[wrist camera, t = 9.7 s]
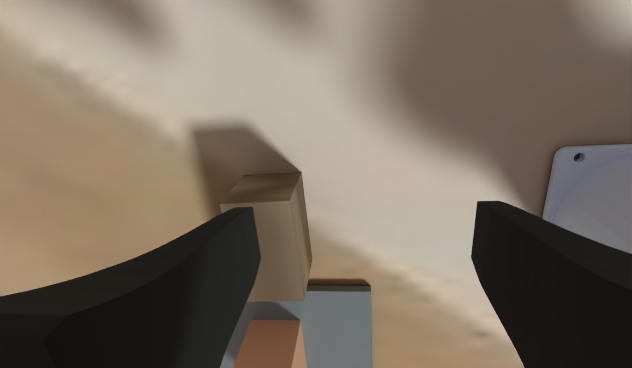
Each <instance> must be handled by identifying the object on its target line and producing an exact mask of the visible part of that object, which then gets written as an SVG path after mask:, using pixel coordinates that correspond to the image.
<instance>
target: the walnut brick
mask: <svg viewBox="0 0 632 368" xmlns="http://www.w3.org/2000/svg"><path fill="white" fill-rule="evenodd" d="M219 205H220V209H221V213H224V212H226V211H228V210H230V209H232V208H235V207H253V211H254V218H255V224H256V230H257V236H258V242H259V248H260V254H261V261H260V265H259V269H258V273H257V276H256V280H255V283H254V286H253V288H252V291H251V293H250V295H249V298H248V300H247V302H270V301H304V299H305V294H306V289H307V283H308V278H309V273H310V268H311V263H312V253H311V245H310V237H309V229H308V221H307V213H306V205H305V197H304V189H303V181H302V173H301V172H296V173H279V174H262V175H245V176H243V177H242V178H241V179H240V180H239V181H238V183H237V184H236V185H235V186H234V187H233V189H232V190H231V191H230V192H229V193H228V195H227V196H226V197H225V198H224V199H223V200H222V202H221V203H220V204H219Z"/></svg>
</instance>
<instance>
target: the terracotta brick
mask: <svg viewBox="0 0 632 368" xmlns="http://www.w3.org/2000/svg"><path fill="white" fill-rule="evenodd" d="M233 368H307V364H306V356H305V349H304V341H303V334H302V326H301V320H251V321H250V324H249V327H248V329H247V332H246V335H245V337H244V340H243V343H242V345H241V348H240V351H239V353H238V356H237V359H236V361H235V364H234V367H233Z"/></svg>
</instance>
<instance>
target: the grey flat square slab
mask: <svg viewBox="0 0 632 368" xmlns="http://www.w3.org/2000/svg"><path fill="white" fill-rule="evenodd" d="M251 320H301V326H302V334H303V341H304V349H305V356H306V364H307V368H373V363H372V316H371V286H348V285H307V289H306V294H305V299H304V301H270V302H246V305H245V307H244V309H243V311H242V314H241V316H240V318H239V320H238V323H237V325H236V327H235V330H234V332H233V334H232V336H231V339H230V341H229V344H228V346H227V349H226V351H225V354H224V357H223V360H222V363H221V366H220V368H233V367H234V364H235V361H236V359H237V356H238V353H239V351H240V348H241V345H242V343H243V340H244V337H245V335H246V332H247V329H248V327H249V324H250V321H251Z"/></svg>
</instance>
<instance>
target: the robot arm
mask: <svg viewBox="0 0 632 368" xmlns="http://www.w3.org/2000/svg"><path fill="white" fill-rule="evenodd" d="M577 153H580V154H581V155H580V157H579V158H578V159H577V160H574V156H575V155H576V154H577ZM471 258H472V261H473V264H474V267H475V270H476V273H477V275H478V278H479V281H480V283H481V286H482V287H483V289H484V291H485V293H486V295H487V297H488V299H489V301H490V303H491V304H492V306H493V308H494V310H495V312H496V314H497V316H498V317H499V319H500V321H501V323H502V325H503V327H504V328H505V330H506V332H507V334H508V336H509V338H510V339H511V341H512V343H513V345H514V347H515V349H516V351H517V353H518V355H519V357H520V359H521V361H522V363H523V365H524V367H525V368H632V144H615V145H592V146H568V147H562V148H561V149H559V150H558V151H557V152H556V154H555V156H554V160H553V166H552V171H551V176H550V181H549V186H548V191H547V196H546V201H545V206H544V212H543V217H542V218H539V217H537V216H535V215H533V214H530V213H528V212H526V211H524V210H521V209H519V208H517V207H514V206H512V205H509V204H507V203H504V202H501V201H477V210H476V219H475V228H474V237H473V245H472V254H471ZM260 261H261V254H260V248H259V242H258V236H257V230H256V224H255V218H254V211H253V207H235V208H232V209H230V210H228V211H226V212H224V213H222V214H220V215H218V216H216V217H215V218H213V219H211V220H209V221H207V222H206V223H204V224H202V225H200V226H199V227H197V228H195V229H193V230H192V231H190V232H188V233H186V234H184V235H182V236H180V237H178V238H176V239H174V240H172V241H171V242H169V243H167V244H165V245H163V246H161V247H159V248H156V249H154V250H152V251H150V252H148V253H145V254H143V255H140V256H138V257H136V258H133V259H131V260H128V261H126V262H123V263H120V264H117V265H114V266H112V267H109V268H106V269H103V270H100V271H97V272H94V273H91V274H88V275H85V276H82V277H78V278H75V279H72V280H68V281H65V282H61V283H57V284H53V285H50V286H46V287H42V288H38V289H34V290H29V291H25V292H20V293H15V294H11V295H6V296H1V297H0V368H220V366H221V363H222V360H223V357H224V354H225V351H226V349H227V346H228V344H229V341H230V339H231V336H232V334H233V332H234V330H235V327H236V325H237V323H238V320H239V318H240V316H241V314H242V311H243V309H244V307H245V305H246V302H247V300H248V298H249V295H250V293H251V291H252V288H253V286H254V283H255V280H256V276H257V273H258V269H259V265H260Z"/></svg>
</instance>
